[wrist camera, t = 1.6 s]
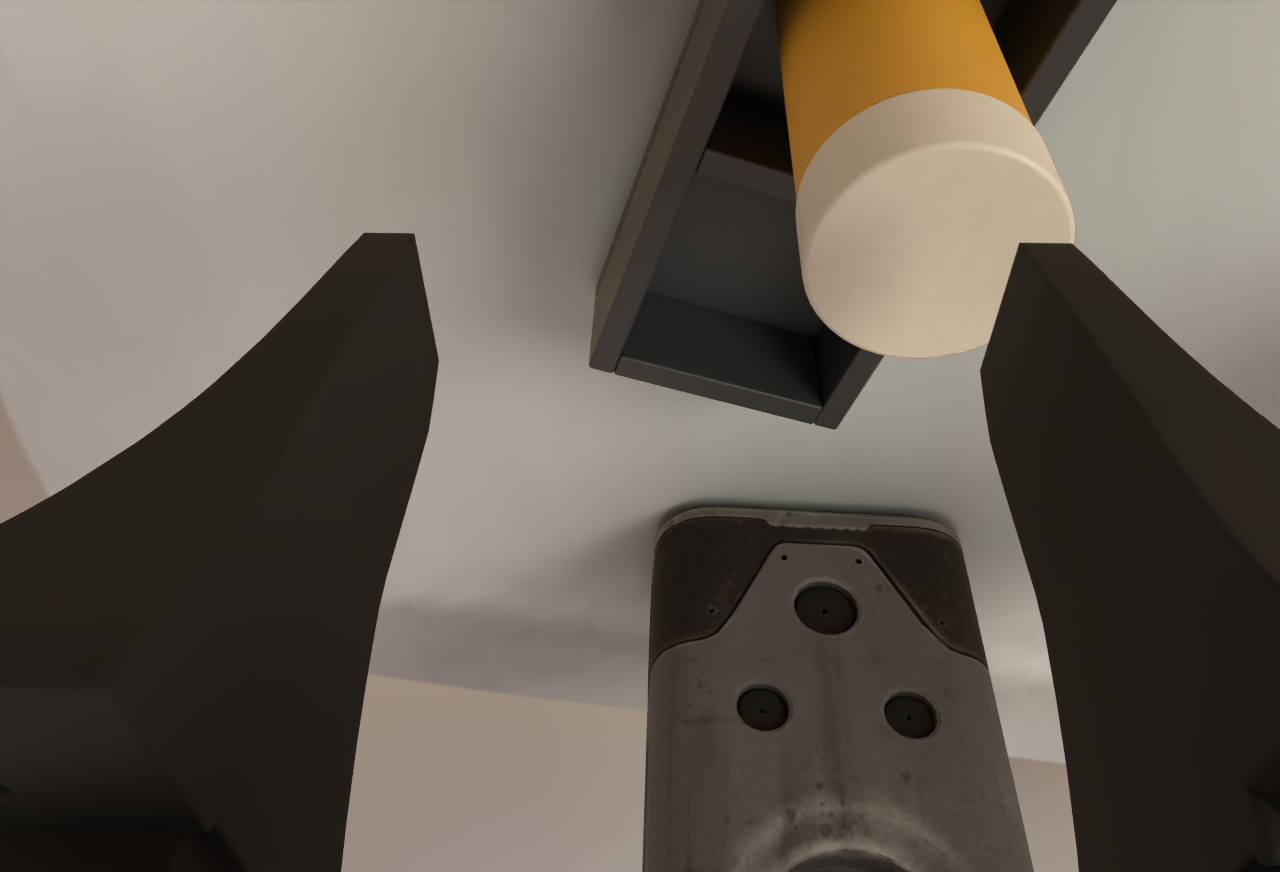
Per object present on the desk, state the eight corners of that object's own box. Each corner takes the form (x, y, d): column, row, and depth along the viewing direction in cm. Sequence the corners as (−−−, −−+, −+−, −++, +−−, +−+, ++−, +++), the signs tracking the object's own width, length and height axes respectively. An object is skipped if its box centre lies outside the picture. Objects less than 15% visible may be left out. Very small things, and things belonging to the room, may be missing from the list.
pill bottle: (1008, -57, 19) (1134, 190, 14) (911, 118, 22) (985, 386, 16) (821, -124, 19) (875, 108, 13) (743, 64, 21) (761, 325, 16)
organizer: (1098, -109, 19) (1146, -43, 17) (825, 349, 27) (836, 431, 25) (783, -230, 18) (795, -173, 16) (596, 288, 26) (588, 368, 24)
